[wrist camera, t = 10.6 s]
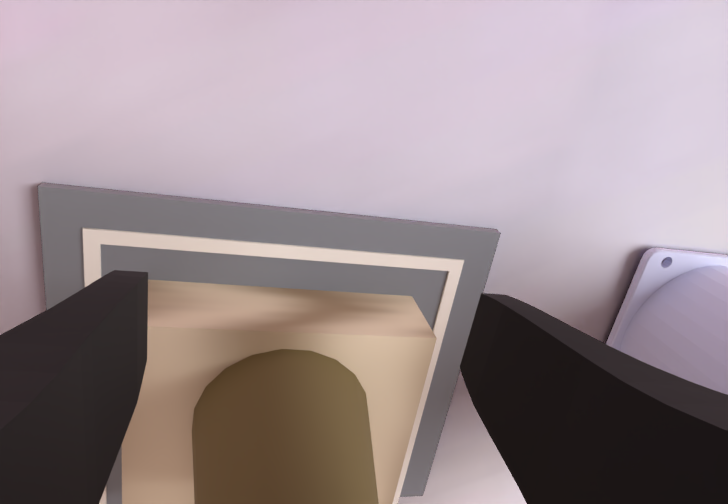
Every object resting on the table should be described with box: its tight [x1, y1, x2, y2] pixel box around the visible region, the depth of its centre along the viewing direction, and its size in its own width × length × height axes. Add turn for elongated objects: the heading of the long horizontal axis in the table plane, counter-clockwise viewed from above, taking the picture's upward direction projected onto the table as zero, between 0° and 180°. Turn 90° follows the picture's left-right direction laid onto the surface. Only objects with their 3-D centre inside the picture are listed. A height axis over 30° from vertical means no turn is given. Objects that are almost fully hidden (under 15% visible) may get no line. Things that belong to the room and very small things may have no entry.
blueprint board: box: [38, 183, 501, 504], centre depth 21 cm, size 16×15×1 cm
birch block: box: [122, 280, 437, 504], centre depth 19 cm, size 10×10×3 cm
